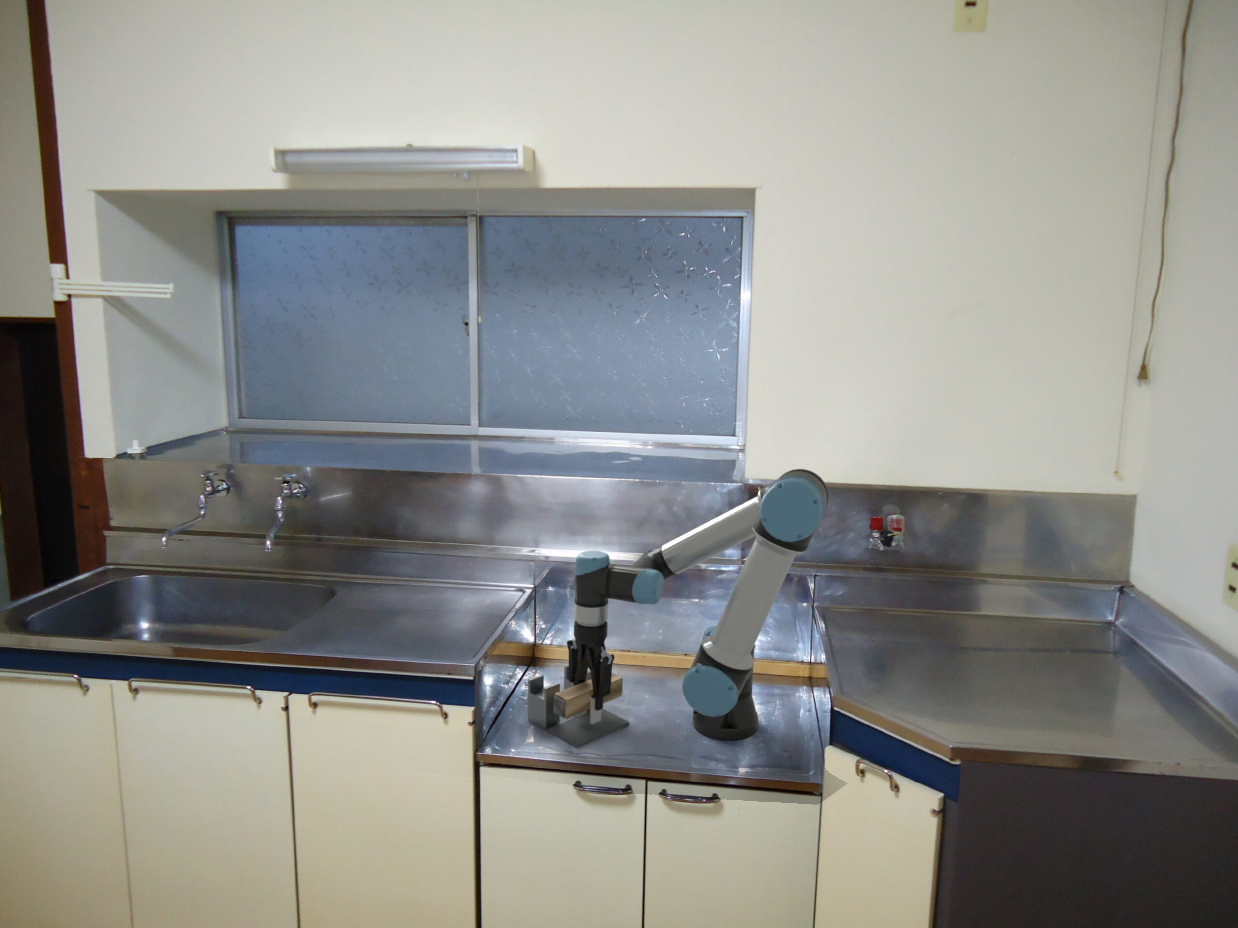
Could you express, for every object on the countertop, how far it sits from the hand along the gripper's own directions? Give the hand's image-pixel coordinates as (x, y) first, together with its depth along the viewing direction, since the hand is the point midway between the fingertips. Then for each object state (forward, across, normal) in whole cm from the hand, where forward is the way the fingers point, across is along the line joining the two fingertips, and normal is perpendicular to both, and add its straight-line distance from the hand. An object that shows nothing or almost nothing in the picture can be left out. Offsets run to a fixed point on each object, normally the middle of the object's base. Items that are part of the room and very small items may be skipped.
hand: (588, 717), depth 185 cm
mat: (+2, 0, 0) cm, 2 cm away
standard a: (+2, +9, -5) cm, 10 cm away
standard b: (+3, +9, +6) cm, 11 cm away
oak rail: (-3, 0, 0) cm, 3 cm away
